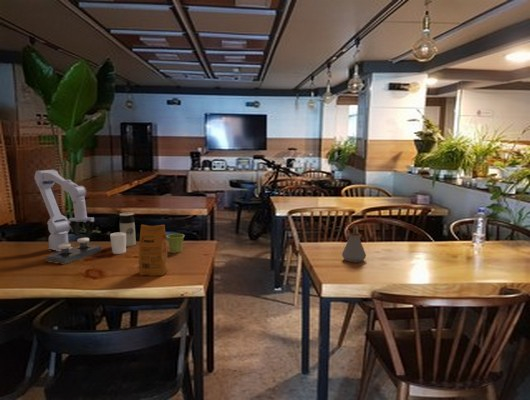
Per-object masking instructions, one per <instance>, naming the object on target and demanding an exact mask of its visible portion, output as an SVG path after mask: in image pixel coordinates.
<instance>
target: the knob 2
mask: <svg viewBox="0 0 530 400" xmlns="http://www.w3.org/2000/svg"><path fill="white" fill-rule="evenodd" d="M89 242H90V238H89V237H80V238H78V239H77V243H78V244H79V246H80V249H87V248H88V246H87V245H88V243H89Z"/></svg>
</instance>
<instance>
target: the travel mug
mask: <svg viewBox="0 0 530 400" xmlns="http://www.w3.org/2000/svg"><path fill="white" fill-rule="evenodd" d="M134 215H135V214H134V212H122V213H119V216H120V218H119V232H124V233H126V248H127V247H134V246H135V245H136V244H137V240H136V225H135V218H134Z"/></svg>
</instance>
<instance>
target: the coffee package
mask: <svg viewBox="0 0 530 400" xmlns="http://www.w3.org/2000/svg"><path fill="white" fill-rule="evenodd" d="M139 232H140V233H139V243H138V267H139V276H151V277H159V276H164V275H165V274H166V273H167V272H168V270H169V263H168V262H169V261H168V239H167V237H166V236H167V233H166V225H165V224H159V225H147V224H141V225H140V231H139Z"/></svg>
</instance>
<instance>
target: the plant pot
mask: <svg viewBox="0 0 530 400" xmlns="http://www.w3.org/2000/svg"><path fill="white" fill-rule="evenodd" d="M166 238H167V243H168V248H169V252H170V253H171V254H178V253H181V252H183V245H184V244H183V243H184V238H185V234H183V233H172V234H166Z"/></svg>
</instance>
